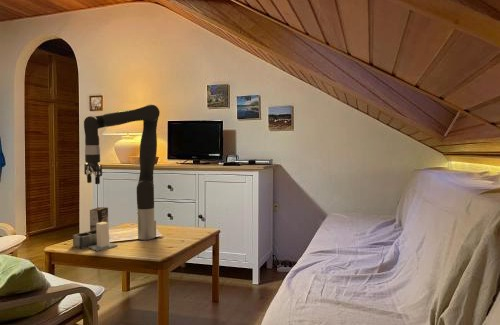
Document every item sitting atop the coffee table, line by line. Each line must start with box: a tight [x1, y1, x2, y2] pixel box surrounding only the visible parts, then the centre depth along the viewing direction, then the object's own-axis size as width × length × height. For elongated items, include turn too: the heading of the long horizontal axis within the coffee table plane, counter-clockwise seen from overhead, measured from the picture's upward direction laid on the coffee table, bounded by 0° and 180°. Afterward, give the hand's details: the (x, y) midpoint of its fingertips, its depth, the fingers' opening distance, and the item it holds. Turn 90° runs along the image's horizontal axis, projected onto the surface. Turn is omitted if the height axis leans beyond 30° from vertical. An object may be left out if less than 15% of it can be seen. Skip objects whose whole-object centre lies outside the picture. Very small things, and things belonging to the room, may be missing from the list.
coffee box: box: [89, 206, 109, 231], centre depth 220 cm, size 9×6×16 cm
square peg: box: [96, 222, 110, 247], centre depth 198 cm, size 4×4×12 cm
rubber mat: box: [88, 241, 118, 252], centre depth 199 cm, size 11×9×1 cm
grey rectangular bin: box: [72, 230, 97, 250], centre depth 203 cm, size 14×8×6 cm, turn 140°
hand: (93, 183), depth 207 cm, fingers open, 8 cm apart
